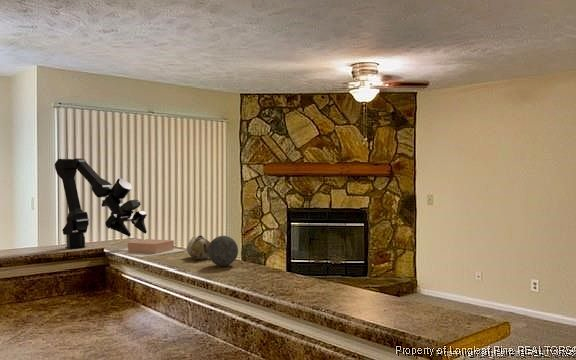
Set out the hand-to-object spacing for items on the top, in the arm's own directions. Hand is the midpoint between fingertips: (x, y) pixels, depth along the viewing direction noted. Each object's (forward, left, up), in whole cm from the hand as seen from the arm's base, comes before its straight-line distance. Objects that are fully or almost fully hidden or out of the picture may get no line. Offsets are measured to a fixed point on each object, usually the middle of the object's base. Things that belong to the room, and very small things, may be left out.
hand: (138, 234), depth 209 cm
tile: (0, 0, -4) cm, 5 cm away
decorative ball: (0, -54, -7) cm, 54 cm away
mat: (+1, -4, -7) cm, 8 cm away
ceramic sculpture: (+5, -35, -7) cm, 36 cm away
